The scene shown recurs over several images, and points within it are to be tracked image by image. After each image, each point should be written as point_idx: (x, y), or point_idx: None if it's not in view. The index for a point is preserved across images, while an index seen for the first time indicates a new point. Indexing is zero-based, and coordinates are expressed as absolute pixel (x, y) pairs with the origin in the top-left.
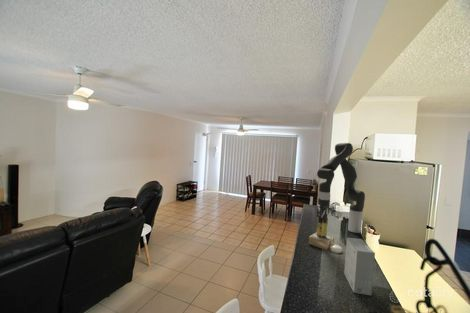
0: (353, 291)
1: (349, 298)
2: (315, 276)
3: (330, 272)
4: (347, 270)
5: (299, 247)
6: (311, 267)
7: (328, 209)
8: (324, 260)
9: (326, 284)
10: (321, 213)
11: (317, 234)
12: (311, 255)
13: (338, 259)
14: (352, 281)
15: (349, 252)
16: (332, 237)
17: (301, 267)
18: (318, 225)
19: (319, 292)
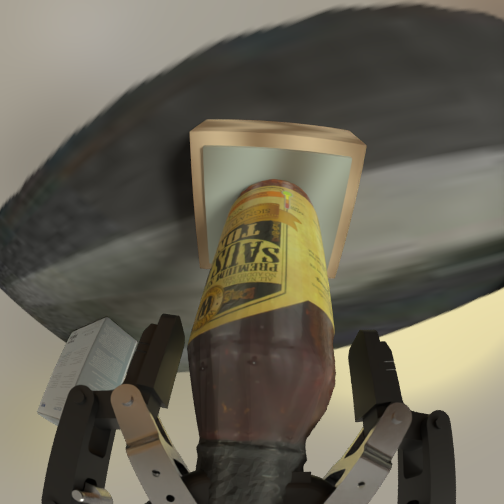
0: (71, 333)
1: (55, 325)
2: (30, 264)
3: (76, 288)
4: (83, 342)
5: (104, 113)
6: (41, 241)
7: (398, 493)
8: (111, 258)
9: (38, 289)
10: (107, 465)
11: (238, 197)
12: (92, 204)
13: (172, 294)
14: (68, 344)
15: (60, 390)
16: (327, 272)
17: (18, 219)
18: (212, 267)
19: (16, 284)
